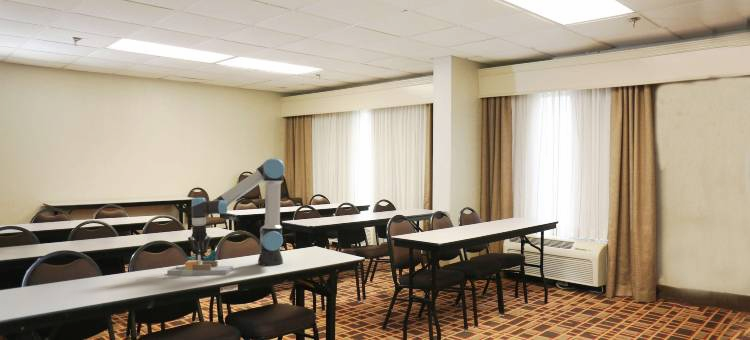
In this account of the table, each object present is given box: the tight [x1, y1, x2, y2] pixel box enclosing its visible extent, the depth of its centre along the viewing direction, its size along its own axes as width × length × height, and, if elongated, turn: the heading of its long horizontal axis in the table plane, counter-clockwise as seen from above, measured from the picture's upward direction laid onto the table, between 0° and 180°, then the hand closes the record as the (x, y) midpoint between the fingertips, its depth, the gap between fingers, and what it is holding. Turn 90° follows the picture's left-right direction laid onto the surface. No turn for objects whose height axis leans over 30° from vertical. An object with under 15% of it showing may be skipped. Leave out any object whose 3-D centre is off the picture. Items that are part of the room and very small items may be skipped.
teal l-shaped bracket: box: [186, 250, 216, 262], centre depth 320 cm, size 18×11×10 cm, turn 37°
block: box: [184, 260, 198, 269], centre depth 302 cm, size 6×6×4 cm
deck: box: [166, 260, 234, 276], centre depth 301 cm, size 34×12×6 cm, turn 87°
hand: (200, 266), depth 301 cm, fingers closed
